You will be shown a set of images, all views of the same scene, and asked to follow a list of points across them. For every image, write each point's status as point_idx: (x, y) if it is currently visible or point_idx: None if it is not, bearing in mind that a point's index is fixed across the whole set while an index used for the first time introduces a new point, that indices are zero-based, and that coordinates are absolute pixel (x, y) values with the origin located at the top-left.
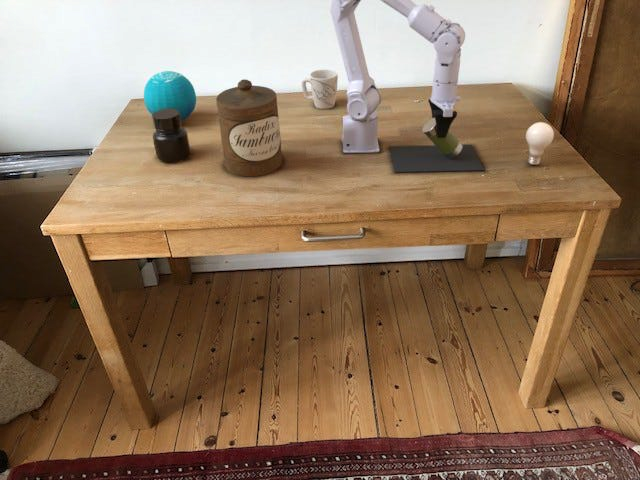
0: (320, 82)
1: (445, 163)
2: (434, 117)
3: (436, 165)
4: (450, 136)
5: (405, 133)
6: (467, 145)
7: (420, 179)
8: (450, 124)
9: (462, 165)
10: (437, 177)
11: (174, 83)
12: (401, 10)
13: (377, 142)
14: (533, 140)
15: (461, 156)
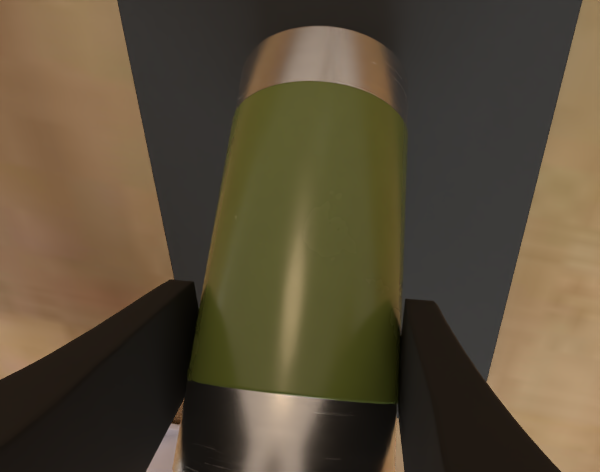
0: None
1: (424, 162)
2: (144, 450)
3: (443, 226)
4: (365, 223)
5: (24, 294)
6: None
7: (583, 334)
8: (544, 456)
9: (483, 32)
10: (593, 243)
11: None
12: None
13: (168, 430)
14: None
15: (320, 9)
